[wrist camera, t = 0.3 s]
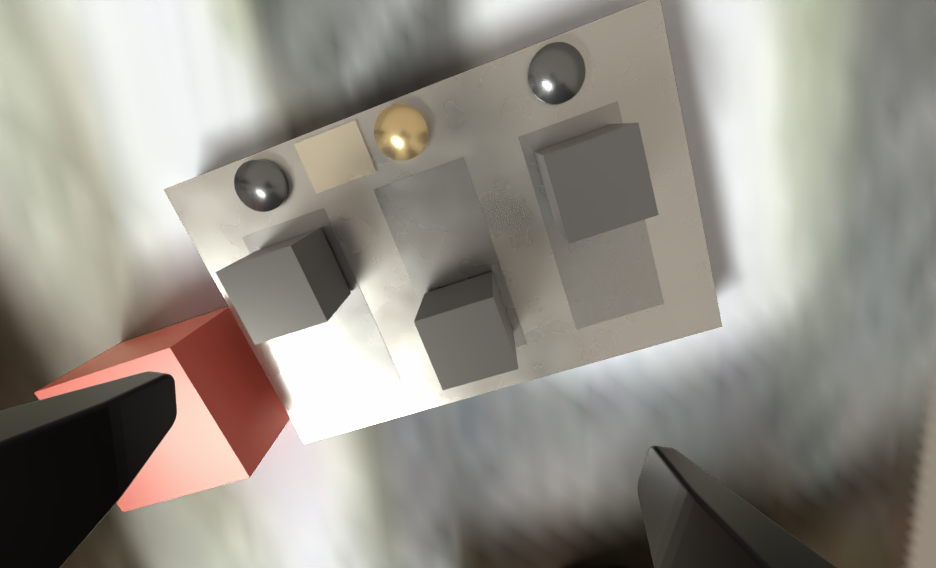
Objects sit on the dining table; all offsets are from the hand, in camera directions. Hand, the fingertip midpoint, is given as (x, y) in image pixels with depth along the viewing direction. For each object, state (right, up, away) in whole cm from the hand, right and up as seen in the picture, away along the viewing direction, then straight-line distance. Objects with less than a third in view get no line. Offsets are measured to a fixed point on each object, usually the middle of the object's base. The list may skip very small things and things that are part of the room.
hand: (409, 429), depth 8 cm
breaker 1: (-6, +3, +11) cm, 13 cm away
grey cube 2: (+1, +2, +11) cm, 11 cm away
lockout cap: (-12, -2, +15) cm, 20 cm away
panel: (0, +4, +12) cm, 13 cm away
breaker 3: (+6, +7, +9) cm, 13 cm away
